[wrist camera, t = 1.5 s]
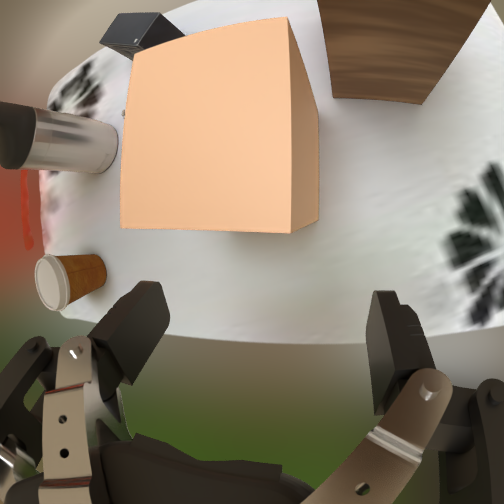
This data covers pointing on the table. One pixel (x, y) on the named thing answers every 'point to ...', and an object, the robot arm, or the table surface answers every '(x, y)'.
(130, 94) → the pedestal
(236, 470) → the robot arm
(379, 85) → the walnut block
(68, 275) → the disposable coffee cup
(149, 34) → the small box
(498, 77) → the table surface
